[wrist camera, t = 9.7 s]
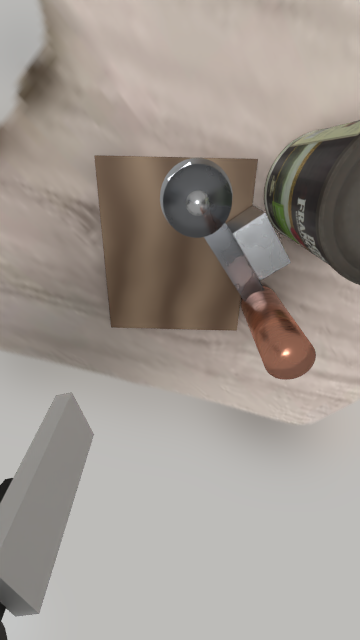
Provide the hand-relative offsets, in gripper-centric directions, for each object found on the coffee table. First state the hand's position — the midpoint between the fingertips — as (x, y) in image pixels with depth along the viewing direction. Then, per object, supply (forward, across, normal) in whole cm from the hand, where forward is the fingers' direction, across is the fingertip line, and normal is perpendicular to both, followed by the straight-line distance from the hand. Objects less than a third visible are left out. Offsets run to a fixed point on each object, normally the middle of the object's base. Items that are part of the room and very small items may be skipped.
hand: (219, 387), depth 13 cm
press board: (+22, -2, +1) cm, 22 cm away
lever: (+20, +4, 0) cm, 21 cm away
